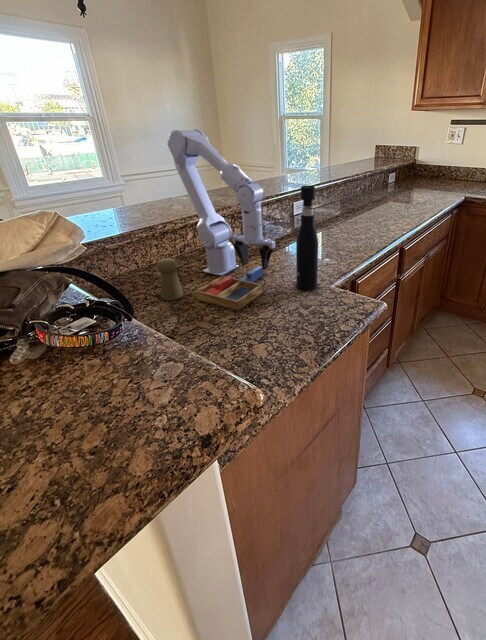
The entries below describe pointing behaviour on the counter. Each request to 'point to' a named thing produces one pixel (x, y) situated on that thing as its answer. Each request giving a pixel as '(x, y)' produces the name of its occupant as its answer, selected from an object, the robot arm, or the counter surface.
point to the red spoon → (221, 285)
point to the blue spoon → (253, 274)
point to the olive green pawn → (169, 280)
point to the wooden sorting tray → (231, 294)
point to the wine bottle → (307, 244)
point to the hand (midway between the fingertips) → (255, 266)
